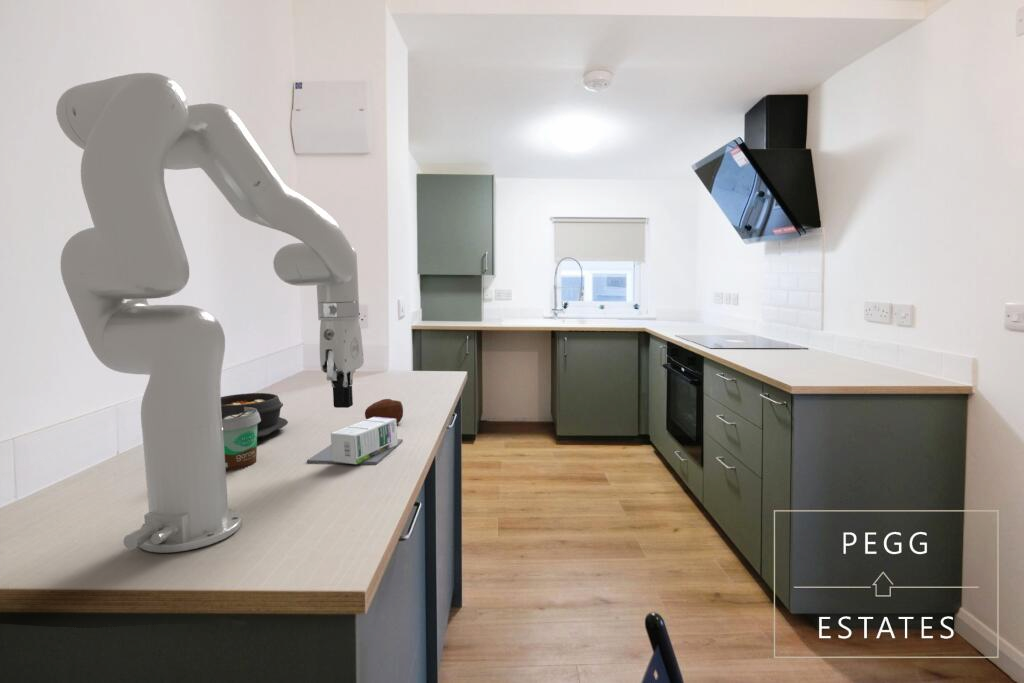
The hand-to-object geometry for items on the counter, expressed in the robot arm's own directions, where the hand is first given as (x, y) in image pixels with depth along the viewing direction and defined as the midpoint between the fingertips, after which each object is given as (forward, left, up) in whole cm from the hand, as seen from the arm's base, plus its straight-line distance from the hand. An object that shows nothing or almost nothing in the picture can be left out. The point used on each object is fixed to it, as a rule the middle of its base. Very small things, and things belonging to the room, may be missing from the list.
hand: (343, 406), depth 112 cm
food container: (-4, +19, -11) cm, 22 cm away
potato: (+28, +2, -11) cm, 30 cm away
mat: (+6, 0, -11) cm, 12 cm away
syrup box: (-4, -1, -7) cm, 8 cm away
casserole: (+18, +32, -11) cm, 38 cm away
